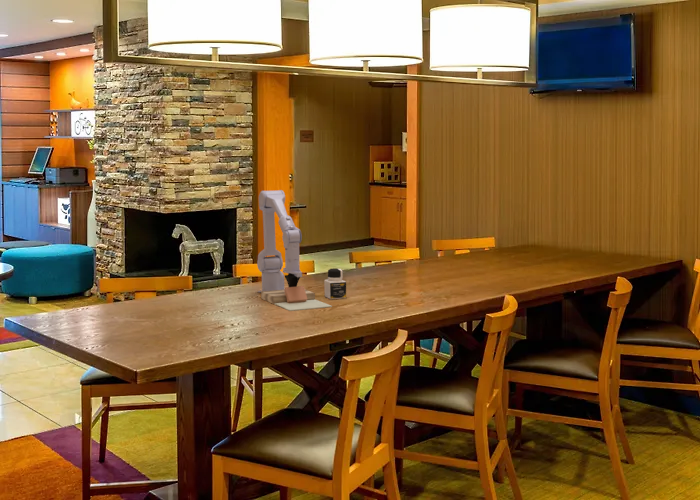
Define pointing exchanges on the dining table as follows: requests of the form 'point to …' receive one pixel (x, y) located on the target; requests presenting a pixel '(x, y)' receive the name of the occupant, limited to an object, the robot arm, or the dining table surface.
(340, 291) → the medicine bottle
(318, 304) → the mat
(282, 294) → the block
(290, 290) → the block
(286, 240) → the robot arm
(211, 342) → the dining table surface
